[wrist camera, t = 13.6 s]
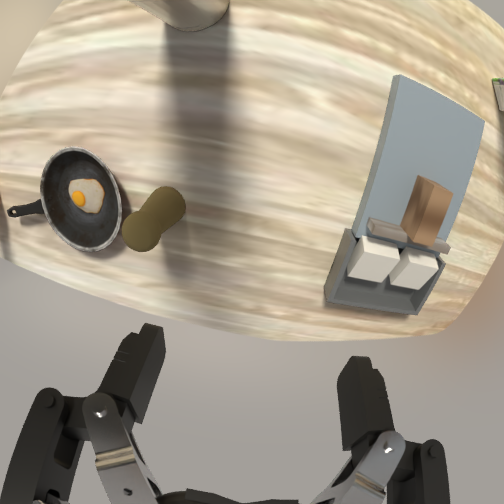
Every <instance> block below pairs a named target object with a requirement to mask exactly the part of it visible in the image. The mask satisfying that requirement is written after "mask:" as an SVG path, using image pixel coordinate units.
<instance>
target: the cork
mask: <svg viewBox="0 0 504 504" xmlns="http://www.w3.org/2000/svg"><path fill="white" fill-rule="evenodd" d="M185 207H186V206H185V201H184V199H183V197H182V195H181V194H180V193H179V192H178V191H177V190H175V189H174V188H171V187H167V186H166V187H160V188H158V189H156V190H155V191H154V192H153V193H152V194H151V195H150V197H149V198H148V199H147V201H146V202H145V203H144V205H143V206H142V207H141V209H140V210H139V211H136V212H134V213H132V214H130V215H129V216H128V217H127V218H126V219H125V220H124V222H123V225H122V237H123V240H124V241H125V243H126V244H127V245H128V247H129V248H131V249H133V250H134V251H138V252H146V251H149V250H151V249H153V248H154V247H155V246H156V245H157V244H158V242H159V240H160V238H161V234H162V233H163V232H164V231H166V230H167V229H168V228H170V227H171V226H172V225H173V224H175V223H176V222H177V221H179V220H180V219H181V218H182V217H183V215H184V213H185Z"/></svg>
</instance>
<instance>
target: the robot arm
mask: <svg viewBox="0 0 504 504" xmlns="http://www.w3.org/2000/svg"><path fill="white" fill-rule="evenodd" d="M127 1H129V2H131V3H133V4H135V5H136V6H138V7H140V8H142V9H144V10H145V11H147V12H149V13H151V14H152V15H154V16H156V17H157V18H159V19H161V20H162V21H164V22H166V23H167V24H169V25H170V26H172V27H174V28H176V29H178V30H181V31H198V30H202V29H205V28H207V27H209V26H211V25H213V24H214V23H216V22H217V21H218V20H219V19H221V17H222V16H223V15H224V14H225V12H226V10H227V8H228V4H229V0H127ZM165 353H166V348H165V340H164V332H163V328H162V327H160V326H156V325H151V324H148V323H145V324H144V325H143V327H142V329H141V331H140V333H139V334H137V333H133V332H131V333H130V334H129V335H128V336H127V337H126V338H124V339H123V340H122V342H121V344H120V346H119V348H118V351H117V352H116V354H115V356H114V359H113V360H112V362H111V364H110V366H109V368H108V370H107V372H106V374H105V376H104V378H103V381H102V383H101V385H100V387H99V388H98V390H97V391H96V392H95V393H93V394H91V395H89V396H88V397H69V396H62V394H61V393H60V392H59V391H58V390H56V389H54V388H44V389H42V390H41V391H40V392H39V393H38V394H37V396H36V398H35V400H34V402H33V404H32V406H31V409H30V411H29V413H28V416H27V418H26V420H25V423H24V425H23V428H22V431H21V433H20V436H19V438H18V441H17V444H16V447H15V450H14V452H13V456H12V458H11V461H10V464H9V468H8V471H7V474H6V478H5V482H4V485H3V490H2V493H1V498H0V504H70V503H68V499H69V495H70V491H71V487H72V483H73V479H74V476H75V471H76V468H77V465H78V461H79V458H80V454H81V451H82V448H83V444H84V441H91V442H92V445H93V448H94V451H95V454H96V460H95V464H96V468H97V471H98V474H99V476H100V479H101V481H102V484H103V486H104V488H105V491H106V493H107V495H108V498H109V500H110V502H111V504H299V503H298V500H276V499H271V500H266V501H259V502H251V503H239V502H236V501H233V500H231V499H228V498H225V497H222V496H219V495H217V494H214V493H208V492H203V491H197V490H193V489H188V488H187V490H186V491H179V492H171V493H167V494H164V495H163V493H162V491H161V489H160V487H159V486H158V484H157V482H156V480H155V478H154V477H153V475H152V473H151V471H150V470H149V468H148V466H147V464H146V462H145V460H144V458H143V456H142V454H141V451H140V449H139V447H138V445H137V442H136V440H135V438H134V435H133V433H132V428H133V425H134V422H137V423H140V424H142V422H143V419H144V416H145V413H146V410H147V407H148V404H149V401H150V398H151V396H152V392H153V390H154V387H155V384H156V382H157V379H158V376H159V373H160V370H161V368H162V365H163V362H164V358H165ZM337 392H338V401H339V411H340V421H341V432H342V445H343V451H350V450H351V453H352V456H351V457H350V458H349V459H348V461H347V462H346V463H345V465H344V466H343V467H342V469H341V470H340V472H339V473H338V474H337V476H336V477H335V478H334V479H333V481H332V482H331V483H330V484H329V486H328V487H327V488H326V489H325V490H324V491H323V492H321V493H320V494H319V495H318V496H317V497H316V498H315V499H314V500H313V501H312V502H311V503H310V504H381V503H382V502H383V500H384V498H385V495H386V493H385V492H384V488H385V486H386V485H387V504H450V494H449V483H448V473H447V465H446V458H445V452H444V448H443V446H442V444H441V443H440V442H439V441H437V440H434V439H430V440H428V441H426V442H425V443H423V444H420V443H415V442H410V441H406V440H404V438H403V437H402V436H401V435H400V434H399V433H398V432H396V431H395V428H394V425H393V419H392V414H391V409H390V404H389V400H388V398H387V397H388V395H387V391H386V387H385V382H384V378H383V377H382V375H381V374H380V372H379V371H378V369H373V368H372V364H371V360H370V358H369V357H363V356H362V357H361V356H352V357H351V358H350V359H349V361H348V362H347V364H346V365H345V367H344V368H343V370H342V372H341V373H340V375H339V377H338V381H337Z"/></svg>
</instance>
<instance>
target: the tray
mask: <svg viewBox="0 0 504 504" xmlns="http://www.w3.org/2000/svg"><path fill="white" fill-rule="evenodd" d="M359 240H360V238H357V237H355V236H354V234H353V232H352V230H351V229H347V228H345V231H344V234H343V237H342V239H341V242H340V245H339V248H338V251H337V253H336V256H335V259H334V262H333V264H332V267H331V270H330V272H329V275H328V278H327V280H326V283H325V285H324V290H325V295H326V300H327V302H331V303H337V304H343V305H349V306H356V307H362V308H369V309H375V310H382V311H389V312H396V313H403V314H410V315H418V313H419V311H420V310H421V308H422V306H423V305H424V303H425V301H426V300H427V298H428V296H429V295H430V293H431V291H432V289H433V287H434V286H435V284H436V282H437V280H438V278H439V276H440V275H441V273H442V271H443V269H444V267H445V265H446V263H445V262H444V261H443V260H442V259H441V257H440V256H439V257H438V258H436V257H435V258H436V261H437V265H438V268H439V269H438V270H437V272H436V273H435V274H434V275H433V276H432V277H431V278H430V279H429V280H428V281H427V282H426V283H425V284H424V285H423V286H422V287H421V288H420V289H419V290H417V289H412V288H407V287H401V286H396V285H391V283H390V277H389V274H388V275H387V277H386V278H385V279H384V280H383V281H382V283H380V282H375V281H370V280H364V279H359V278H354V277H349V276H348V272H347V265H348V262H349V260H350V257H351V255H352V252H353V250H354V248H355V246H356V245H357V243H358V241H359ZM397 248H398V247H397ZM403 250H404V249H402V248H398V252H399V255H400V254H401V252H402V251H403Z"/></svg>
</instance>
